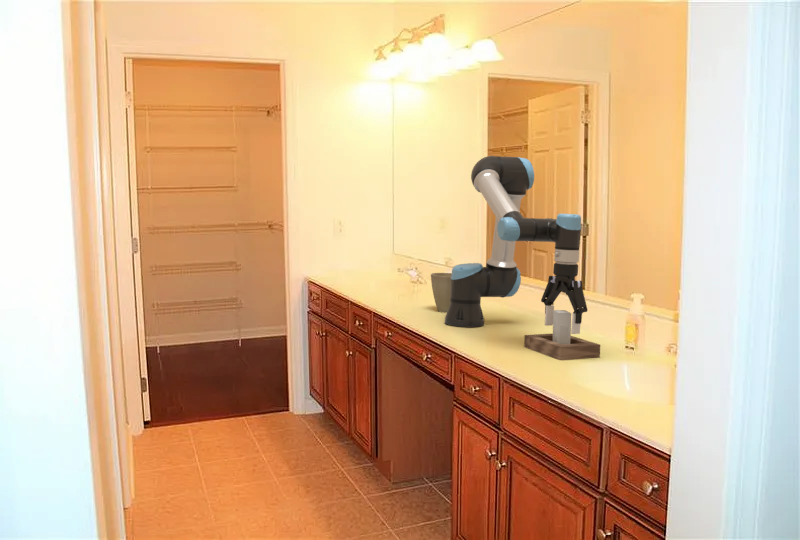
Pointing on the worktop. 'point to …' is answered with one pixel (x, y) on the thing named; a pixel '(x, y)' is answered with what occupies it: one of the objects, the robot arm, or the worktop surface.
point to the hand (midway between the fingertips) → (561, 329)
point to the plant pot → (441, 290)
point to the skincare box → (561, 326)
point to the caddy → (562, 347)
